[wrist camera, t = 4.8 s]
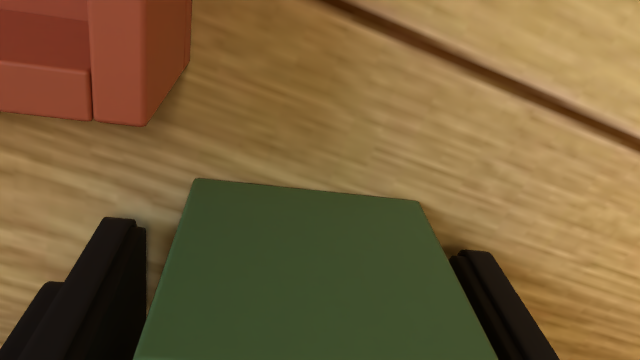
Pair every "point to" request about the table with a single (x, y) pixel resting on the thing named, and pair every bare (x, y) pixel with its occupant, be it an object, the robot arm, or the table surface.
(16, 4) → the terracotta tray
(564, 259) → the table surface
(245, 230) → the green block
